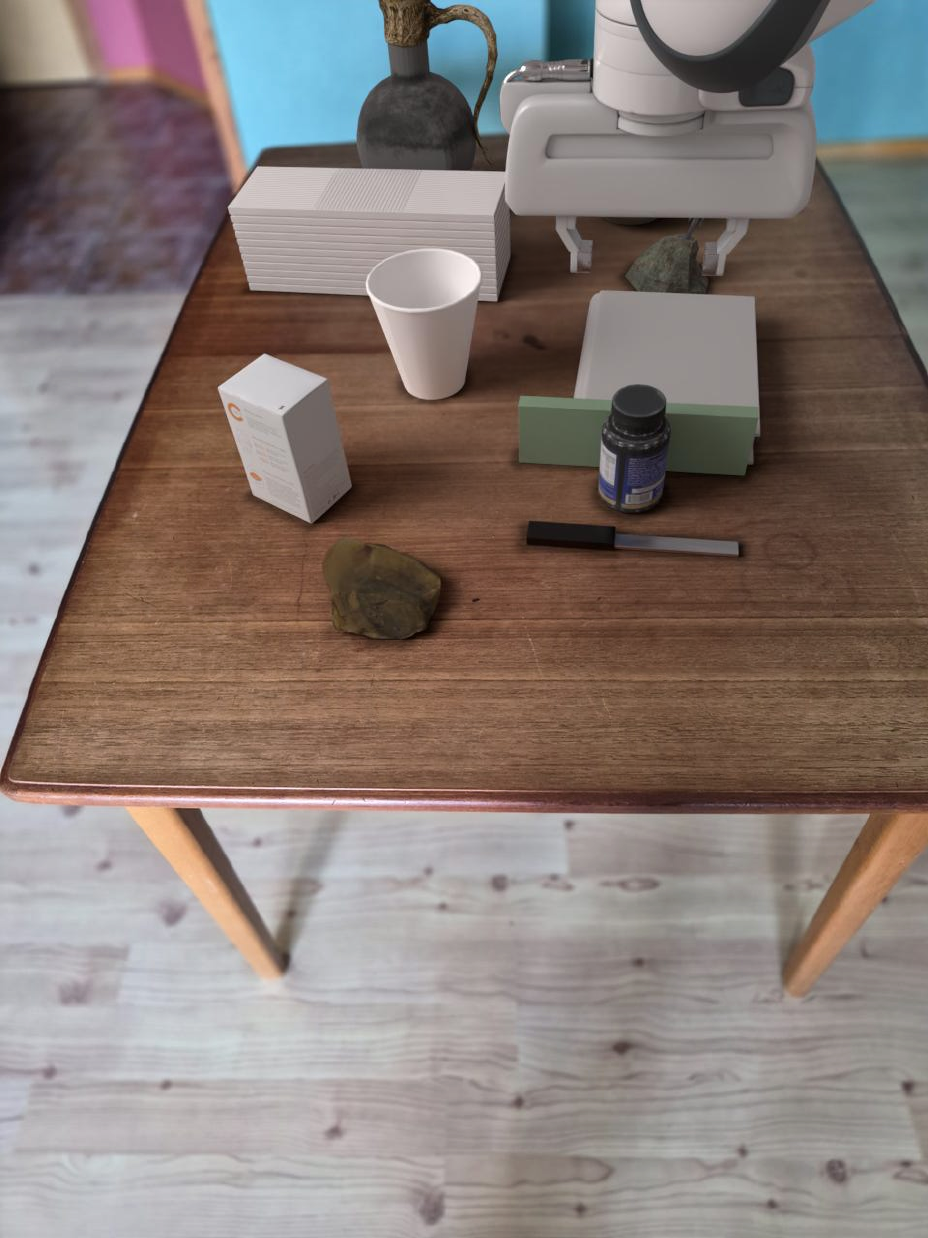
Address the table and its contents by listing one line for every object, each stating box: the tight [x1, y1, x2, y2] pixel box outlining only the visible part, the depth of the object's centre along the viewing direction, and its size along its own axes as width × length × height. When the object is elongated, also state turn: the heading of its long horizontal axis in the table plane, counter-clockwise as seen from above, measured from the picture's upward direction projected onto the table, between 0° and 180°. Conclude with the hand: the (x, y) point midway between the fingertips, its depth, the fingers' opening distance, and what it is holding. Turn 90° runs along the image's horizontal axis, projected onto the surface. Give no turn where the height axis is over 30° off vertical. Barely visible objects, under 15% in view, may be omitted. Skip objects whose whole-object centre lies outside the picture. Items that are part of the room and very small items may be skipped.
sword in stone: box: [625, 218, 710, 294], centre depth 104 cm, size 10×8×12 cm
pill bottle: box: [597, 384, 671, 514], centre depth 81 cm, size 6×6×11 cm
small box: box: [217, 353, 353, 525], centre depth 83 cm, size 8×6×13 cm
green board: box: [517, 395, 759, 476], centre depth 85 cm, size 22×2×7 cm, turn 81°
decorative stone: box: [321, 536, 442, 640], centre depth 77 cm, size 10×9×4 cm
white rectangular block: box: [573, 289, 761, 466], centre depth 94 cm, size 18×4×24 cm
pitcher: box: [356, 0, 499, 171], centre depth 112 cm, size 11×19×30 cm, turn 76°
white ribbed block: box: [227, 165, 512, 302], centre depth 110 cm, size 32×11×11 cm, turn 79°
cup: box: [366, 248, 483, 401], centre depth 94 cm, size 12×12×12 cm
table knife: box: [525, 520, 740, 558], centre depth 81 cm, size 19×2×1 cm, turn 81°
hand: (645, 270), depth 65 cm, fingers open, 8 cm apart
